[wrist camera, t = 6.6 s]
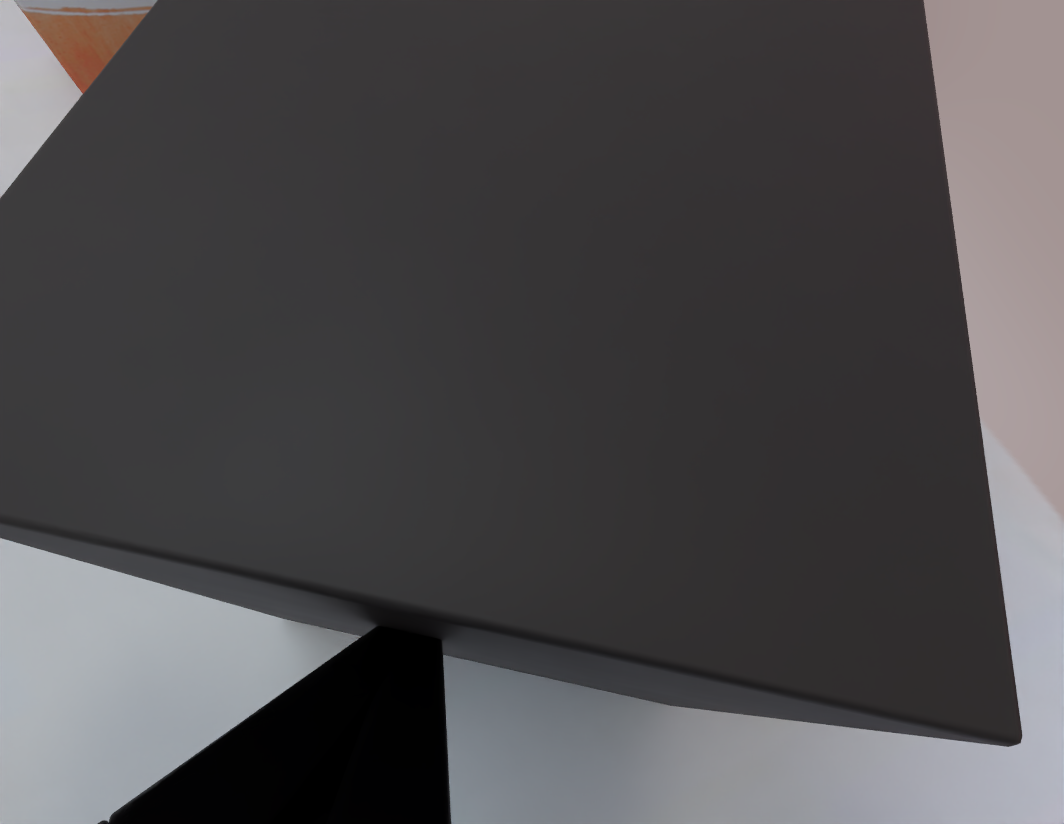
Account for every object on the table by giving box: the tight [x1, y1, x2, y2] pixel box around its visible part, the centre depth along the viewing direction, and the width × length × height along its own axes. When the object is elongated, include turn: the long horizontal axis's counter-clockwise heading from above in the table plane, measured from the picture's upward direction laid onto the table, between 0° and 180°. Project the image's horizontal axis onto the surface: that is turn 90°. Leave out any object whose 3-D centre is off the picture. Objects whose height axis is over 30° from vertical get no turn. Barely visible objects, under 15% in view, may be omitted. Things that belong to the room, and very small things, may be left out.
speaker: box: [0, 0, 1022, 747], centre depth 13 cm, size 16×10×11 cm, turn 169°
